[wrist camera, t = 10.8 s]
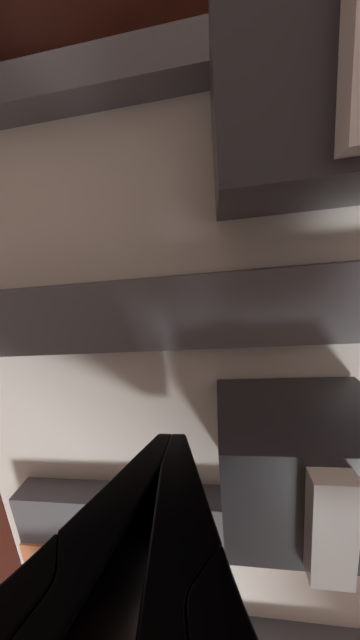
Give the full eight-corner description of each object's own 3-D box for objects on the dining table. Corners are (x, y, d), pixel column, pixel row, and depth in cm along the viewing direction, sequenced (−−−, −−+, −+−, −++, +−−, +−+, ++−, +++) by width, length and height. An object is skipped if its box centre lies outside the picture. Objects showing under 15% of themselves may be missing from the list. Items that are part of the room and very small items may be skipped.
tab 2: (354, 376, 7) (479, 480, 4) (348, 457, 8) (451, 610, 4) (216, 379, 8) (218, 471, 4) (221, 455, 9) (226, 587, 5)
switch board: (468, 35, 6) (597, -77, 4) (390, 607, 11) (433, 693, 9) (-68, 138, 9) (-160, 99, 7) (49, 572, 13) (17, 633, 11)
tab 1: (388, 70, 6) (665, -230, 2) (377, 203, 6) (580, 134, 3) (210, 102, 6) (205, -95, 3) (216, 221, 7) (219, 181, 3)
